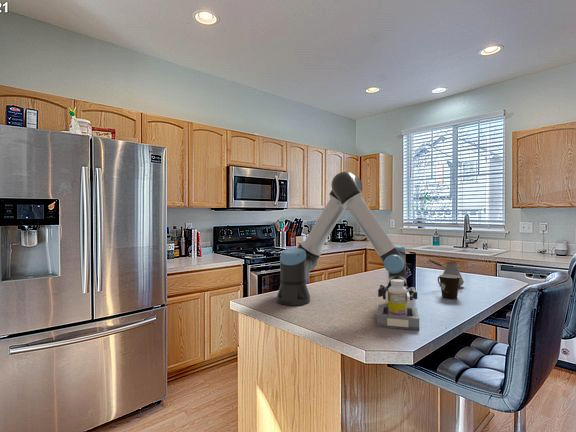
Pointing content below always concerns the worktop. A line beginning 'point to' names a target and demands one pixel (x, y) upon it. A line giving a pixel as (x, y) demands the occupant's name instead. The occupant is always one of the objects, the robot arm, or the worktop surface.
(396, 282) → the supplement bottle
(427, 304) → the worktop surface
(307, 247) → the robot arm
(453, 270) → the coffee pot
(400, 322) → the pocket tray
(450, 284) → the coffee mug
